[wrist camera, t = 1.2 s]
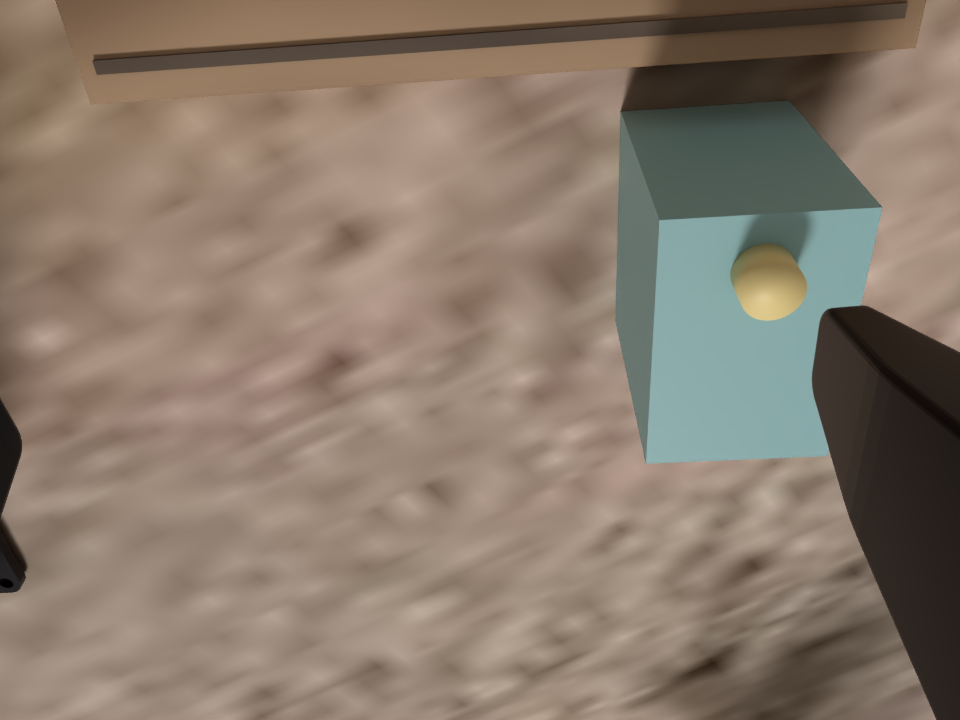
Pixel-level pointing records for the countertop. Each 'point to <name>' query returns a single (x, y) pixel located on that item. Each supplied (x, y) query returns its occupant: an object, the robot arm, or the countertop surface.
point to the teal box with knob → (732, 276)
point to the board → (443, 39)
